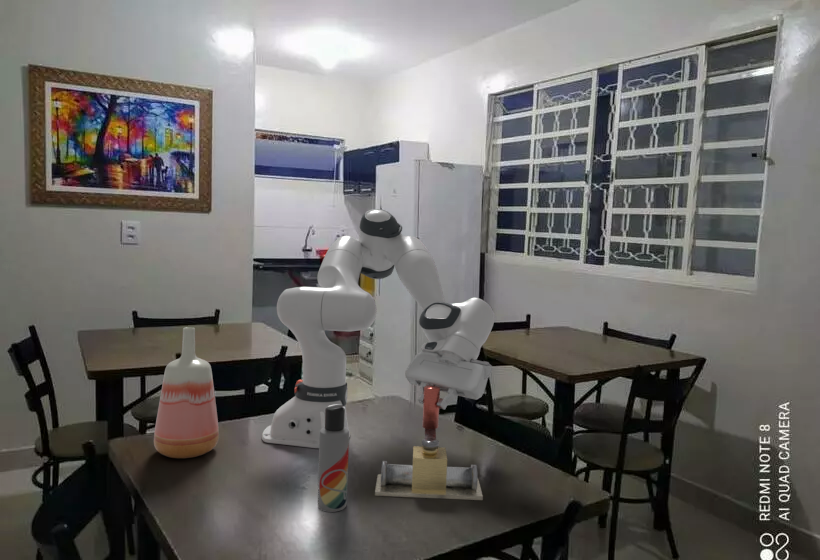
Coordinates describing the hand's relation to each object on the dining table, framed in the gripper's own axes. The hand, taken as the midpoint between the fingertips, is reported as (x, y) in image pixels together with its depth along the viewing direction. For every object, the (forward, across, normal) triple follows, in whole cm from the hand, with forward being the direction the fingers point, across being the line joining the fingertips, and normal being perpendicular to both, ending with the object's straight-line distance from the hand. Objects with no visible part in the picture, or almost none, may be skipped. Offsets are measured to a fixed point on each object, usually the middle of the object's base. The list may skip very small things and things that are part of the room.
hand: (430, 404), depth 136 cm
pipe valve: (+16, -6, -6) cm, 18 cm away
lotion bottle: (+30, +3, +8) cm, 31 cm away
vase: (+33, +49, +10) cm, 59 cm away
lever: (+7, -3, -2) cm, 8 cm away
